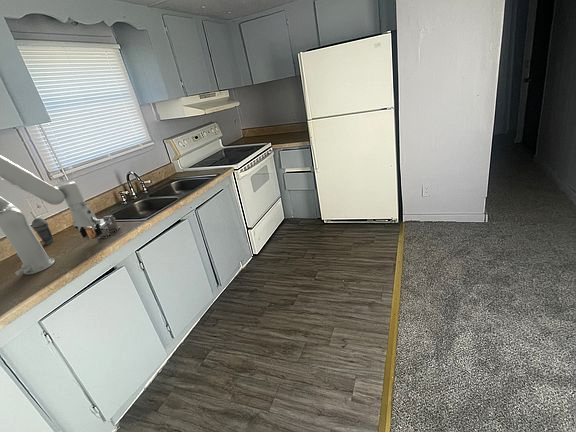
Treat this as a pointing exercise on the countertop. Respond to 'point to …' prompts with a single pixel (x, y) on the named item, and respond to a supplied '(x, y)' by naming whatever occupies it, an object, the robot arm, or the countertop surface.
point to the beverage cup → (42, 230)
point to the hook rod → (92, 233)
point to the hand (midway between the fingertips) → (92, 235)
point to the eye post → (111, 224)
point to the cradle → (103, 234)
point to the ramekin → (100, 223)
